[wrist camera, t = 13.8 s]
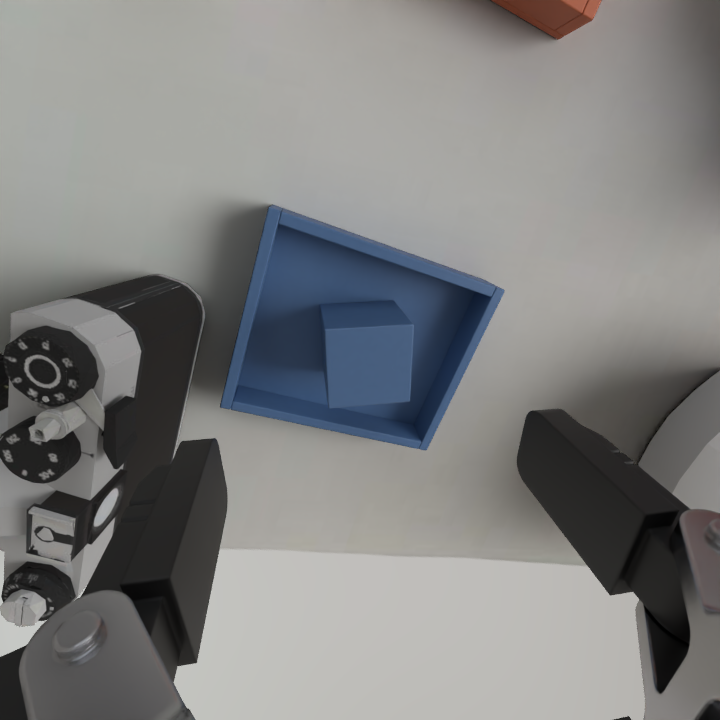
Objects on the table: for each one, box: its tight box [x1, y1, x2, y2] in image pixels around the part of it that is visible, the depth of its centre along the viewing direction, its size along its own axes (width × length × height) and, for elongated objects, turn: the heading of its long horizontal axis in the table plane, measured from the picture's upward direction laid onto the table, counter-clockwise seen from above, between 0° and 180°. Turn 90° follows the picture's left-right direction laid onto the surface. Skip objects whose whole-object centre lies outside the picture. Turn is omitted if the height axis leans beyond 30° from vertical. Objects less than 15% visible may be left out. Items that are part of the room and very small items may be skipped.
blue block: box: [320, 300, 414, 408], centre depth 21 cm, size 4×4×4 cm
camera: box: [0, 274, 206, 627], centre depth 18 cm, size 15×11×10 cm
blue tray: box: [220, 205, 504, 450], centre depth 23 cm, size 13×11×2 cm
